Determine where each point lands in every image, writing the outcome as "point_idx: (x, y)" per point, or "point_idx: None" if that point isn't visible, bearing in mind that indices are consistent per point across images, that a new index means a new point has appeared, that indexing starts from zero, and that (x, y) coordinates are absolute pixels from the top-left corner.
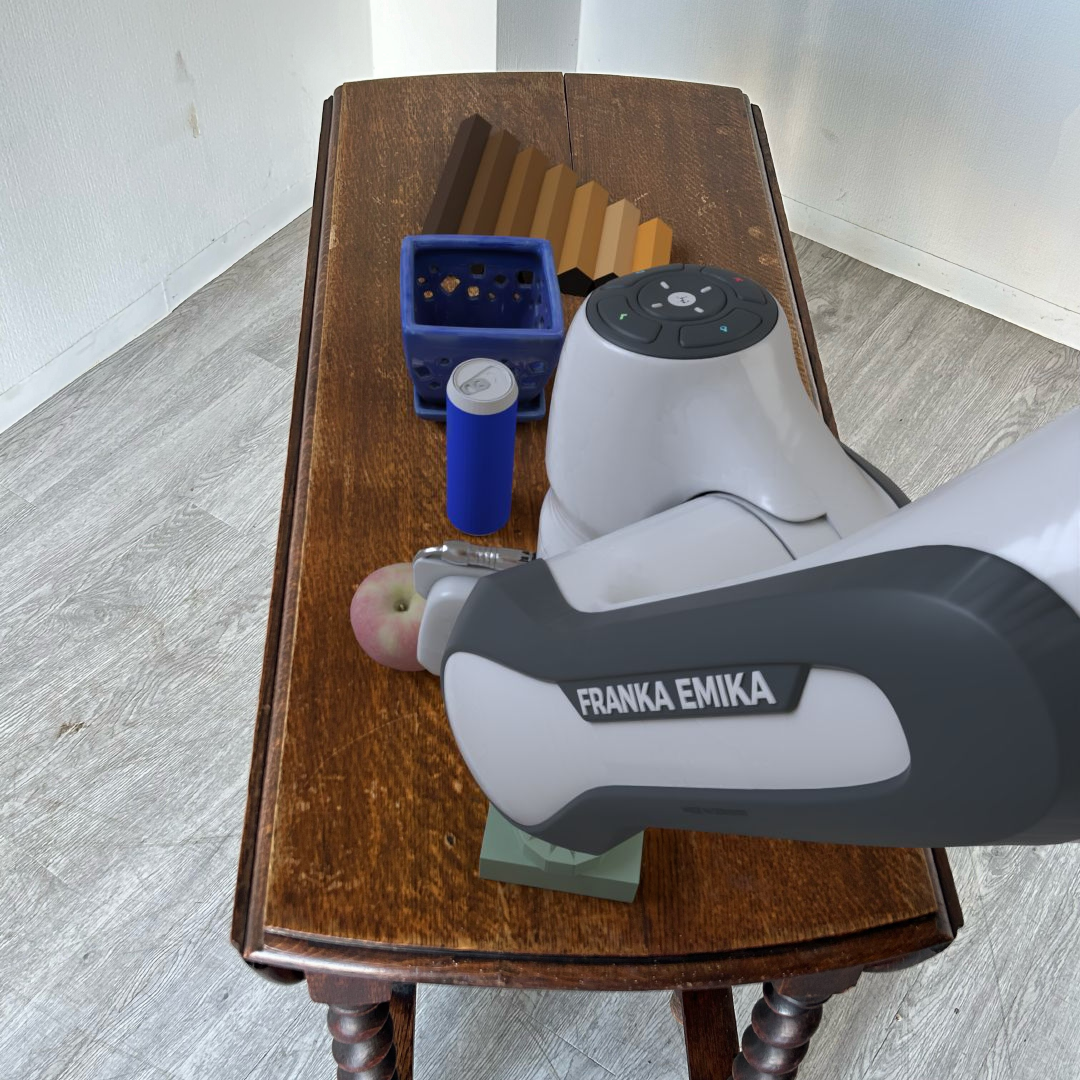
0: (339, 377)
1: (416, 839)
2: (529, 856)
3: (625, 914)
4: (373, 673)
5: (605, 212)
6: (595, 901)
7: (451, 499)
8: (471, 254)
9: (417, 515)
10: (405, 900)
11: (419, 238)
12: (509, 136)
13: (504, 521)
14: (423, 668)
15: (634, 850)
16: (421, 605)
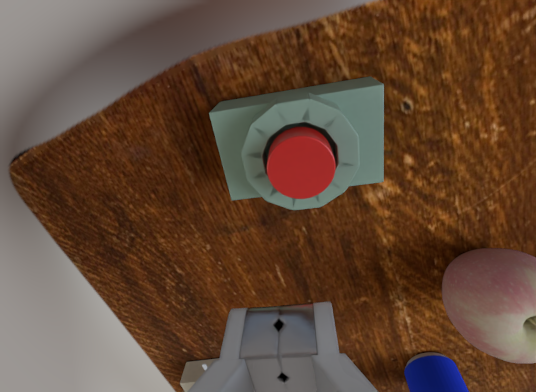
0: None
1: (442, 95)
2: (329, 102)
3: (222, 89)
4: (505, 236)
5: None
6: (252, 92)
7: (465, 388)
8: None
9: (478, 357)
10: (445, 23)
11: None
12: None
13: (409, 369)
14: (473, 257)
15: (224, 145)
16: (515, 330)
